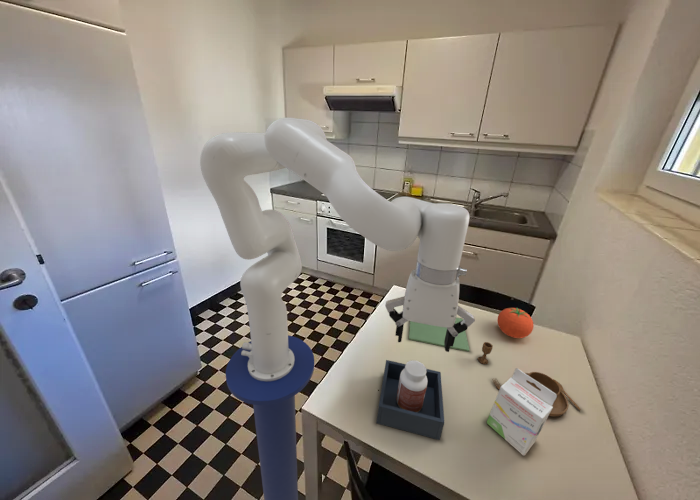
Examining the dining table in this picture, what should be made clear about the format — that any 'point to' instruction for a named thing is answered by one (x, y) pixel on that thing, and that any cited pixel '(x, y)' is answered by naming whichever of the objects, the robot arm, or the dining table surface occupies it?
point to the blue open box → (393, 416)
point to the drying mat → (436, 335)
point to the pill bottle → (412, 386)
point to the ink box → (521, 411)
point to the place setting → (560, 402)
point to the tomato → (515, 322)
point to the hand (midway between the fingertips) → (422, 342)
